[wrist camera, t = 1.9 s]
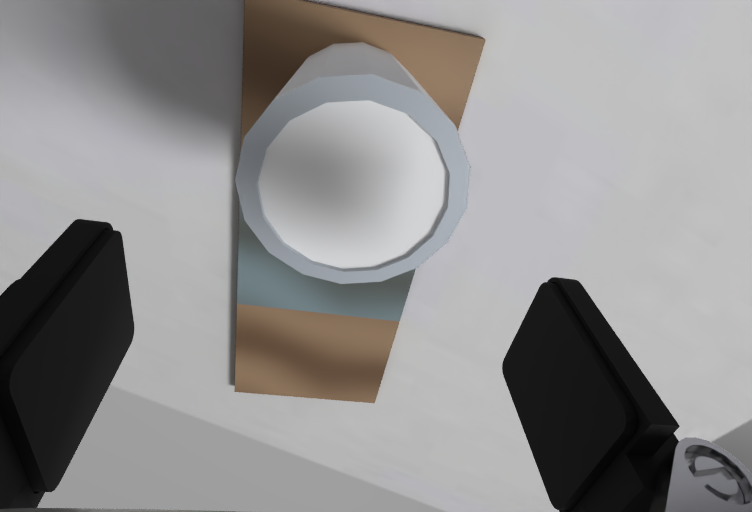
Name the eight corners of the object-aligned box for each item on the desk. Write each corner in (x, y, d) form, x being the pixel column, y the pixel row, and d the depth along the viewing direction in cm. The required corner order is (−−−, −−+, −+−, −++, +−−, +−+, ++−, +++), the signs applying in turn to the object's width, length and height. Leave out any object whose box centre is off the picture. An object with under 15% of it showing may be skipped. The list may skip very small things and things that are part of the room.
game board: (246, -12, 17) (244, -11, 16) (483, 37, 18) (485, 39, 18) (235, 386, 29) (234, 391, 29) (374, 398, 31) (374, 403, 30)
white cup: (454, 39, 18) (503, 95, 12) (416, 197, 22) (440, 295, 16) (271, 8, 17) (231, 53, 11) (266, 179, 21) (236, 276, 15)
